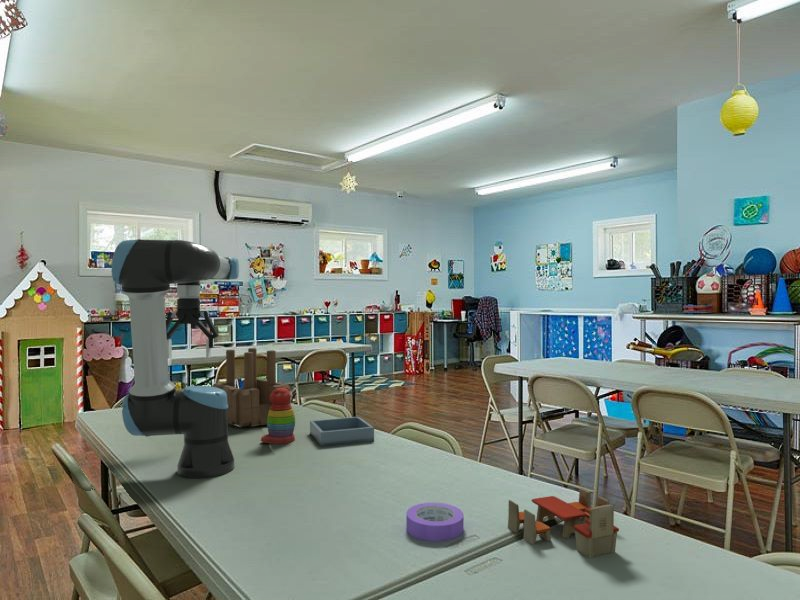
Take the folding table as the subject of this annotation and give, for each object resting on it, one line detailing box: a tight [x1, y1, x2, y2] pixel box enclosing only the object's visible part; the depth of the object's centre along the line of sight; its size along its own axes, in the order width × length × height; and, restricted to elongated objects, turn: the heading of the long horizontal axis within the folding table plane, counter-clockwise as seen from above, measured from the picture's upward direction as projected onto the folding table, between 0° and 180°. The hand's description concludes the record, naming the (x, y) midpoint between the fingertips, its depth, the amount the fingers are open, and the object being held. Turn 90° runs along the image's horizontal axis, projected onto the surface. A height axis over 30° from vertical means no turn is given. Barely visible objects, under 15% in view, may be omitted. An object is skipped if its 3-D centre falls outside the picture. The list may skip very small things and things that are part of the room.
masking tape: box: [405, 502, 465, 542], centre depth 110 cm, size 12×12×4 cm
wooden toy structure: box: [211, 347, 292, 428], centre depth 217 cm, size 23×30×27 cm
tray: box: [309, 416, 375, 447], centre depth 185 cm, size 18×18×4 cm
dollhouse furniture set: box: [507, 487, 620, 559], centre depth 106 cm, size 19×19×10 cm
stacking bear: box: [260, 387, 296, 445], centre depth 182 cm, size 11×10×18 cm
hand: (188, 357), depth 190 cm, fingers open, 13 cm apart
